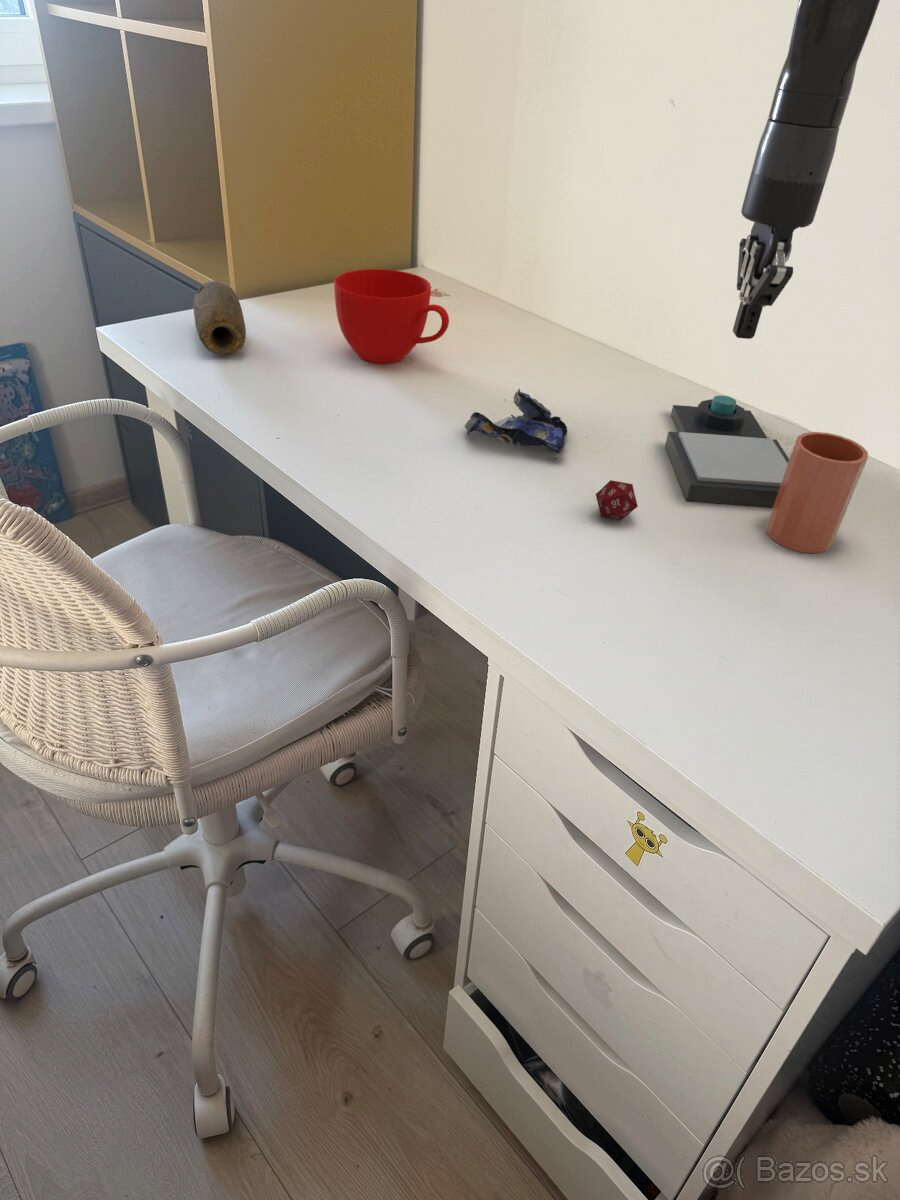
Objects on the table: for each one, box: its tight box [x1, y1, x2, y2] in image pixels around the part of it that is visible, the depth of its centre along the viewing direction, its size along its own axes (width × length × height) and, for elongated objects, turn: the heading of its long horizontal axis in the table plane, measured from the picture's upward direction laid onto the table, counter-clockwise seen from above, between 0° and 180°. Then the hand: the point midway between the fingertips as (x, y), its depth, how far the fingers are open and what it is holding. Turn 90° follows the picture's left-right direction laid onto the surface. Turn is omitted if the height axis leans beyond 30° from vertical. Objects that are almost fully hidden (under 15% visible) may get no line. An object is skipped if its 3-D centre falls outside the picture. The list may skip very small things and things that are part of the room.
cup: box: [765, 431, 869, 554], centre depth 82 cm, size 6×6×10 cm
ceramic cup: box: [333, 268, 450, 365], centre depth 113 cm, size 13×17×10 cm
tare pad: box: [670, 398, 768, 439], centre depth 103 cm, size 10×8×3 cm
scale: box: [664, 431, 790, 508], centre depth 94 cm, size 13×13×2 cm
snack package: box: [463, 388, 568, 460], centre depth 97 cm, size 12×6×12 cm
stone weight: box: [192, 280, 247, 355], centre depth 115 cm, size 15×7×7 cm, turn 20°
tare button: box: [710, 394, 737, 415], centre depth 102 cm, size 3×3×2 cm
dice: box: [595, 479, 639, 521], centre depth 84 cm, size 4×4×4 cm
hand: (742, 335), depth 97 cm, fingers closed
